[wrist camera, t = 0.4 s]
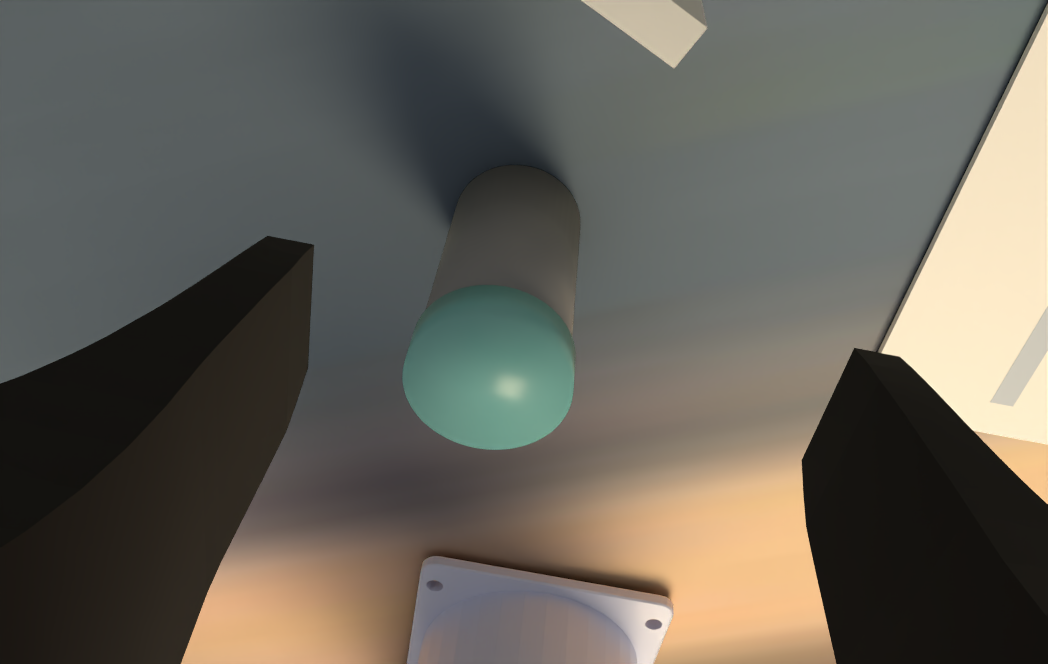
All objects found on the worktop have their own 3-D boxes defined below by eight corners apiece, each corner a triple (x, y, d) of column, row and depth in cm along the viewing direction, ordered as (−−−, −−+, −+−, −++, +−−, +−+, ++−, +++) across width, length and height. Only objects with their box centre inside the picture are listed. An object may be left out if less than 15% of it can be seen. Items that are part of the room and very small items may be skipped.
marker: (570, 289, 24) (556, 462, 19) (443, 265, 24) (395, 433, 19) (597, 175, 22) (589, 333, 17) (459, 149, 22) (410, 301, 17)
